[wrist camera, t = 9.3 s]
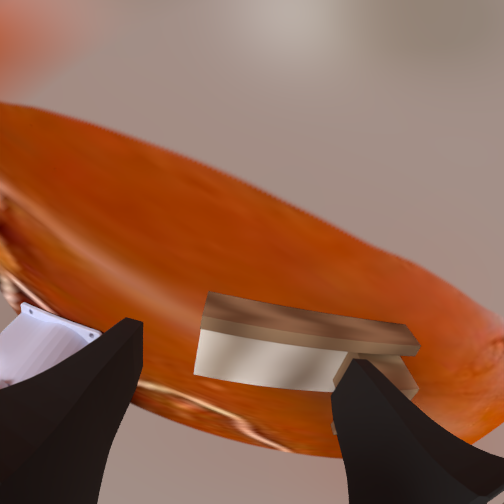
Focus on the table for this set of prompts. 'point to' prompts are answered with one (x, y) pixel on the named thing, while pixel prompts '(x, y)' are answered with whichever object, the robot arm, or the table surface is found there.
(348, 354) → the block
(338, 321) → the board
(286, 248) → the table surface
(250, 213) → the table surface
